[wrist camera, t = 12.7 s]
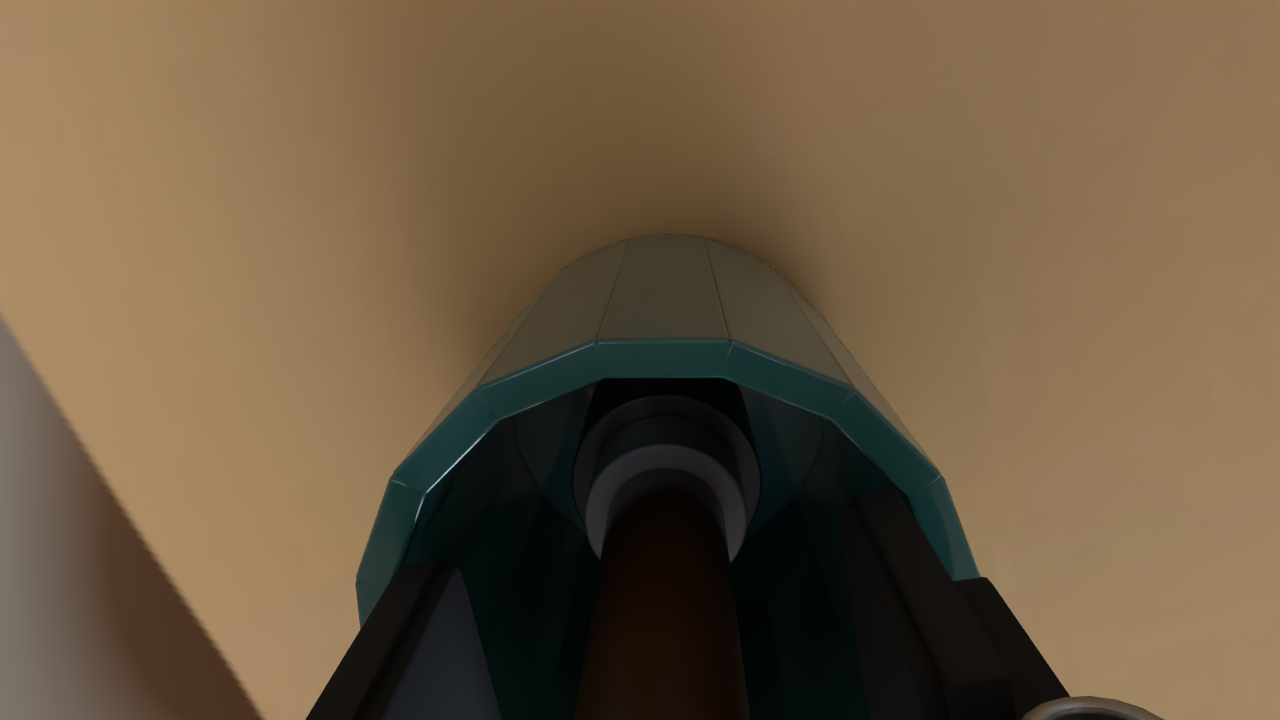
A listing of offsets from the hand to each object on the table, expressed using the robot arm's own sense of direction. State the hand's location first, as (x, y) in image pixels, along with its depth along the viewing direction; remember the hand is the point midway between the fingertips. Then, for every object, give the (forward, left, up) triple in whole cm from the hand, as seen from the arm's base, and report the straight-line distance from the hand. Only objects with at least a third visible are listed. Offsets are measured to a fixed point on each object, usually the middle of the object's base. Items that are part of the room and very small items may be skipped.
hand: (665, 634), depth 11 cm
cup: (0, 0, -9) cm, 9 cm away
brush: (0, 0, -9) cm, 9 cm away
